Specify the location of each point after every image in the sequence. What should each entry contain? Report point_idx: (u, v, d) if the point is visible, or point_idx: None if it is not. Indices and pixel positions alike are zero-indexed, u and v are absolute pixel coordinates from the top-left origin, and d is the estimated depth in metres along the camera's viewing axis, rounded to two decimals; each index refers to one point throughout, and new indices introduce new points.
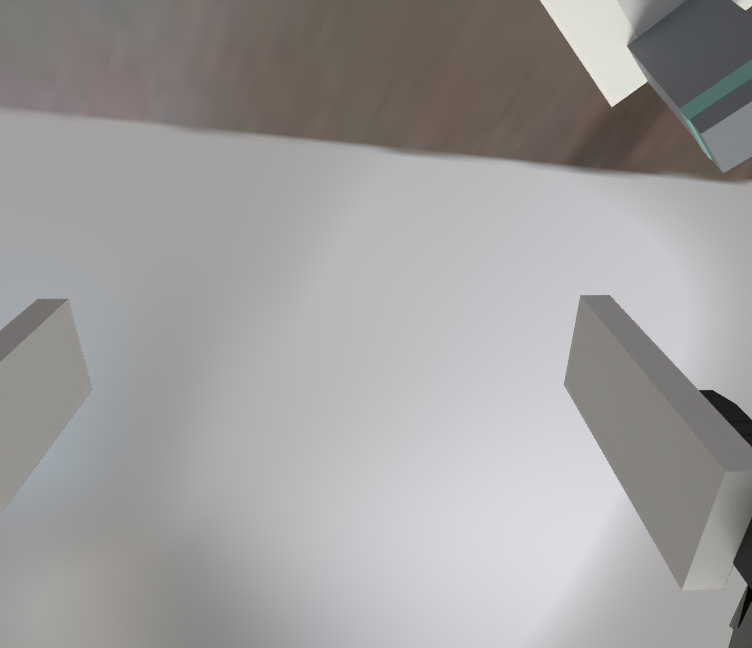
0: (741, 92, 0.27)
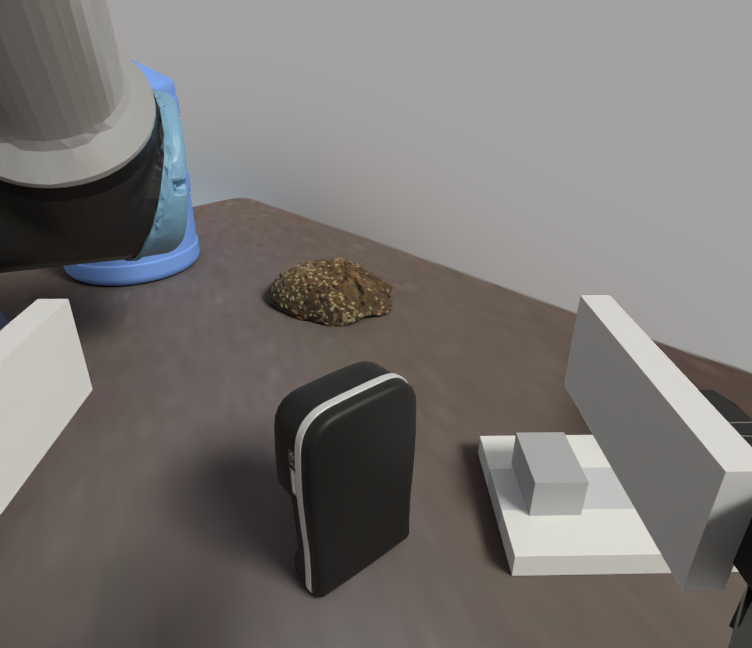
0: None
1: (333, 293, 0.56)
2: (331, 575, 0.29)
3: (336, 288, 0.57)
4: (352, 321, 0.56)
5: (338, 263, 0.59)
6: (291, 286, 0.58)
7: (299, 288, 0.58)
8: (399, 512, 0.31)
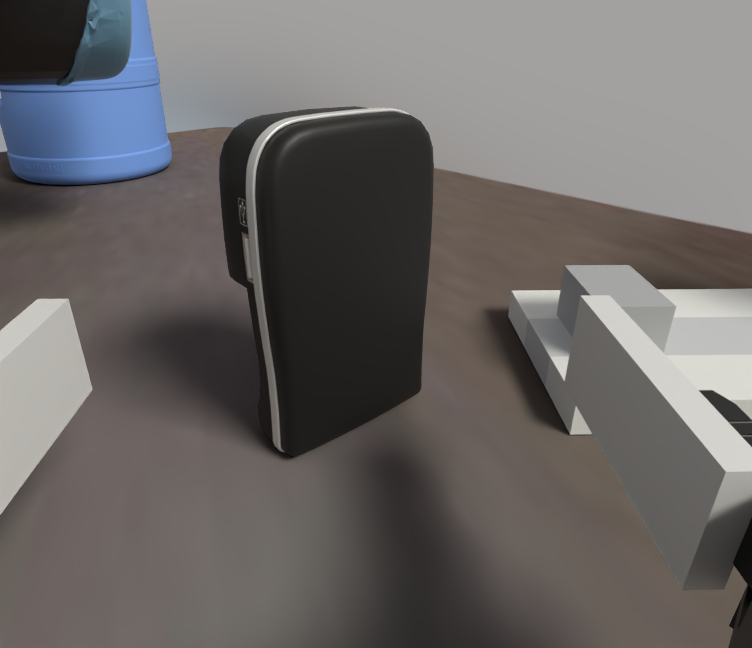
0: None
1: None
2: (309, 421, 0.20)
3: None
4: None
5: None
6: None
7: None
8: (408, 346, 0.22)
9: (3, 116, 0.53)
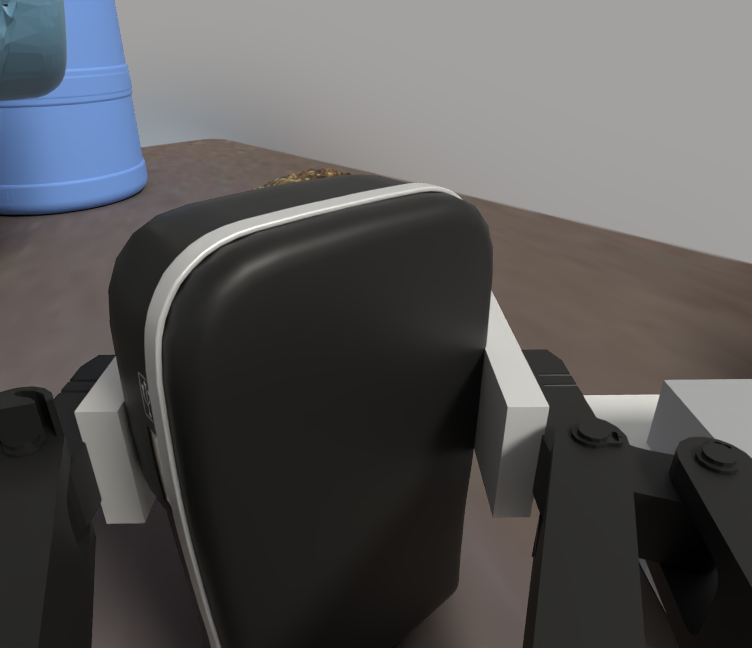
0: None
1: None
2: None
3: None
4: None
5: (332, 171, 0.42)
6: None
7: None
8: (443, 541, 0.14)
9: None
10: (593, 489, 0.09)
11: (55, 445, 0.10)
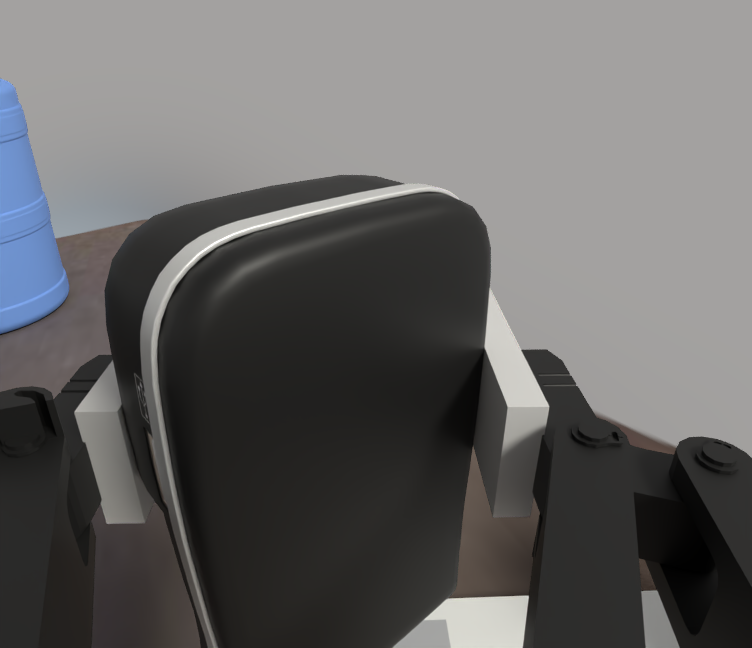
0: None
1: None
2: None
3: None
4: None
5: None
6: None
7: None
8: (441, 542, 0.14)
9: None
10: (593, 489, 0.09)
11: (55, 445, 0.10)
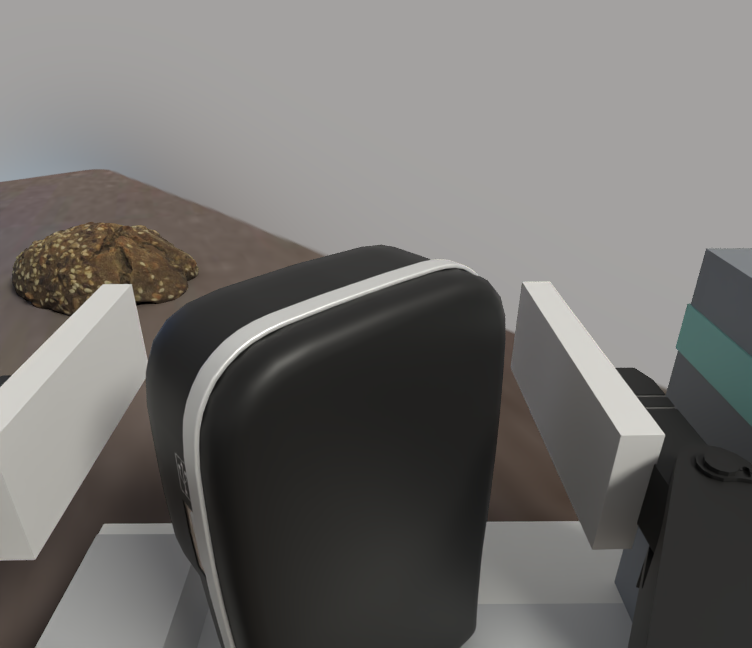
0: None
1: (78, 268, 0.38)
2: None
3: (84, 261, 0.38)
4: None
5: (104, 226, 0.41)
6: (29, 259, 0.40)
7: (37, 261, 0.39)
8: (461, 589, 0.14)
9: None
10: (718, 525, 0.08)
11: None
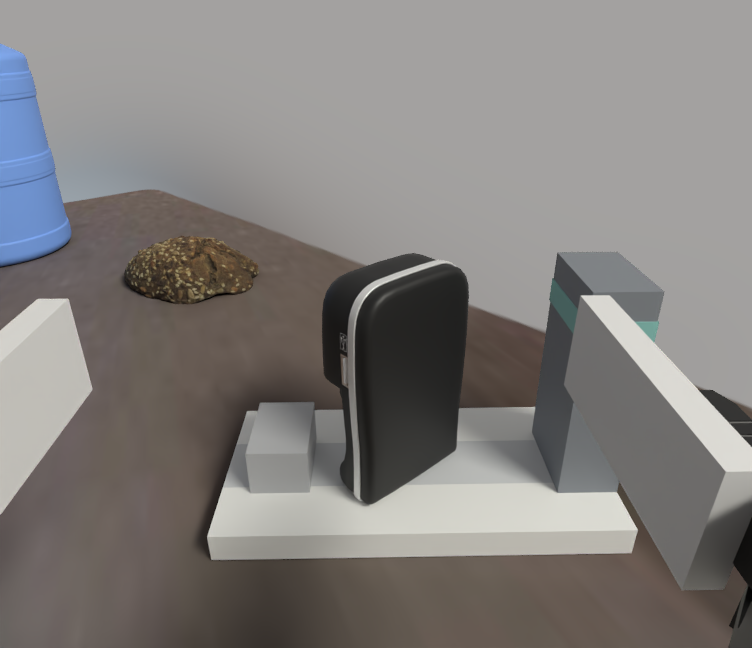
0: (571, 291, 0.26)
1: (180, 269, 0.54)
2: (382, 479, 0.27)
3: (184, 264, 0.54)
4: (200, 298, 0.53)
5: (194, 239, 0.56)
6: (141, 263, 0.55)
7: (148, 264, 0.55)
8: (449, 419, 0.30)
9: None
10: None
11: None
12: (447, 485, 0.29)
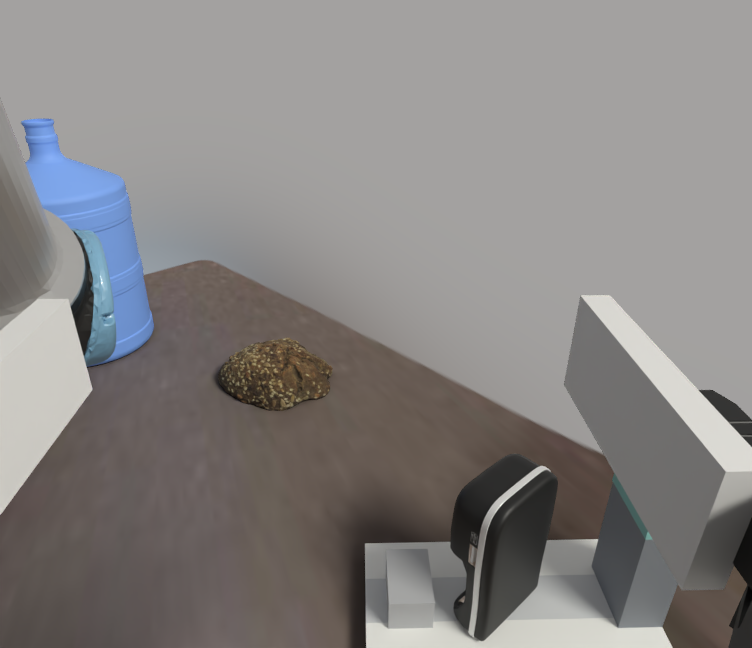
0: None
1: (273, 381, 0.63)
2: (491, 624, 0.37)
3: (276, 376, 0.63)
4: (290, 406, 0.63)
5: (280, 350, 0.66)
6: (236, 372, 0.65)
7: (244, 374, 0.64)
8: (535, 570, 0.39)
9: None
10: None
11: None
12: (534, 620, 0.39)
